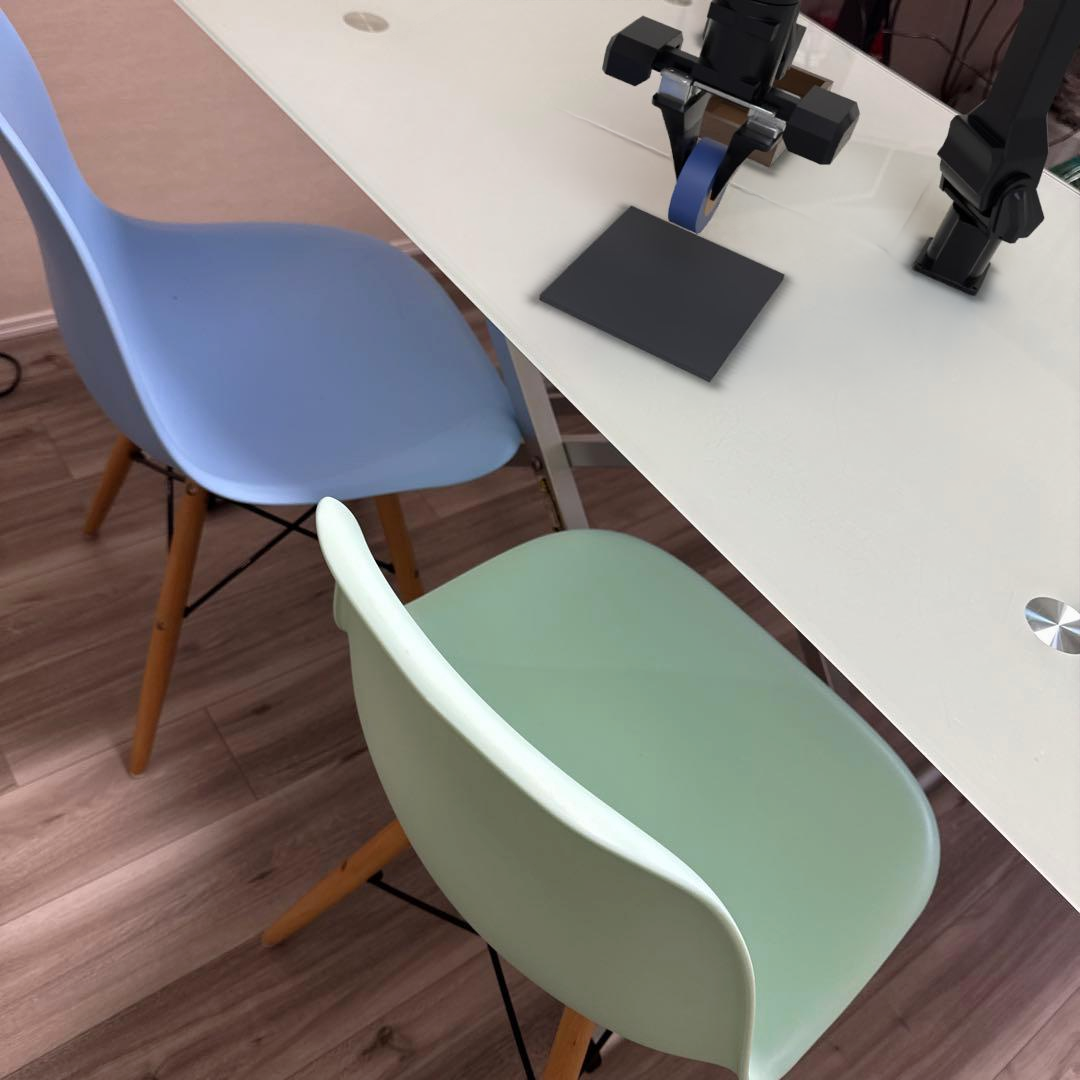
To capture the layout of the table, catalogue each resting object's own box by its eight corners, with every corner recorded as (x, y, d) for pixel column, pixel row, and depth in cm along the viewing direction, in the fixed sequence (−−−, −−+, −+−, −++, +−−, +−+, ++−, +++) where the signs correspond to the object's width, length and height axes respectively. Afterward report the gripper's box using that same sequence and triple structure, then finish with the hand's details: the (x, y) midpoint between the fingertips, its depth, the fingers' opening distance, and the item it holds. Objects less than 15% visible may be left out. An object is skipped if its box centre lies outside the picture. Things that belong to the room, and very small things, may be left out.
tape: (687, 242, 79) (720, 155, 74) (658, 229, 79) (689, 142, 75) (712, 224, 84) (744, 143, 80) (685, 212, 85) (716, 131, 80)
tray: (767, 172, 102) (778, 144, 100) (681, 135, 104) (689, 107, 102) (823, 107, 114) (834, 81, 112) (745, 75, 116) (754, 48, 114)
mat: (709, 382, 79) (712, 376, 79) (539, 299, 82) (540, 294, 82) (782, 279, 90) (785, 274, 90) (629, 210, 93) (631, 205, 93)
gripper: (918, 1, 70) (833, 196, 82) (686, -86, 74) (637, 112, 86) (876, 50, 63) (790, 255, 75) (623, -49, 67) (579, 161, 79)
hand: (697, 191), depth 79 cm, fingers closed on tape, 2 cm apart
